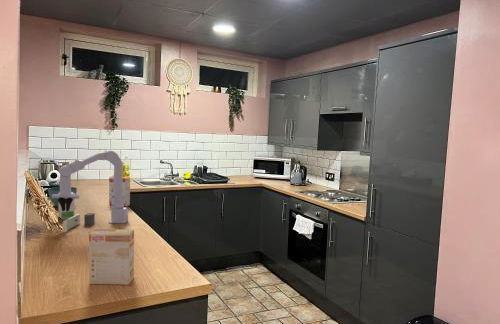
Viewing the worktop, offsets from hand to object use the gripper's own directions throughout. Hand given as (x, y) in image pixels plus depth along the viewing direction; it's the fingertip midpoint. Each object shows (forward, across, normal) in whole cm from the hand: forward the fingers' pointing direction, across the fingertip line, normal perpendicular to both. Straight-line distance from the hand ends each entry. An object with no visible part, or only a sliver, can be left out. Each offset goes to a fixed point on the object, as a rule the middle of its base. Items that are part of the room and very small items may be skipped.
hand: (65, 210), depth 209 cm
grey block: (+10, +10, +8) cm, 16 cm away
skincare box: (+10, -10, +21) cm, 25 cm away
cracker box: (+10, +9, +60) cm, 61 cm away
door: (+9, +4, -1) cm, 10 cm away
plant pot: (+10, -28, +52) cm, 60 cm away
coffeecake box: (+10, +52, -69) cm, 87 cm away
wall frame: (+9, +4, -1) cm, 10 cm away
